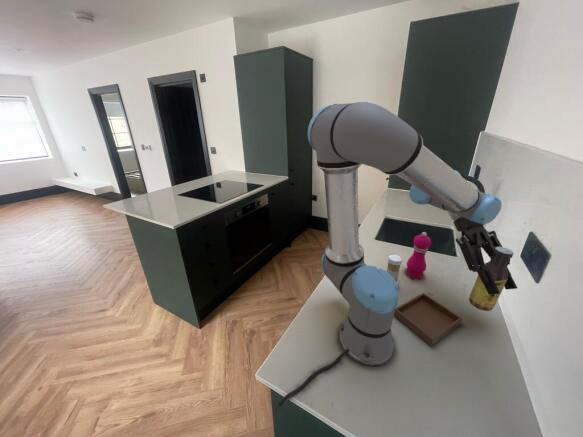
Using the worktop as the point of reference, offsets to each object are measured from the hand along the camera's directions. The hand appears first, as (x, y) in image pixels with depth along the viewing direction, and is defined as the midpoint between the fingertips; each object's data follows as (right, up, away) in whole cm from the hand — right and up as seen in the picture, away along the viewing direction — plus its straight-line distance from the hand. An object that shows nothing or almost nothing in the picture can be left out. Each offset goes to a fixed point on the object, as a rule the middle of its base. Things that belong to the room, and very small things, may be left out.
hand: (503, 291), depth 65 cm
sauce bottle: (-1, -6, +7) cm, 9 cm away
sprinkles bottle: (-21, -6, +25) cm, 34 cm away
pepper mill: (-8, -3, +32) cm, 33 cm away
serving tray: (-16, -13, +10) cm, 23 cm away
